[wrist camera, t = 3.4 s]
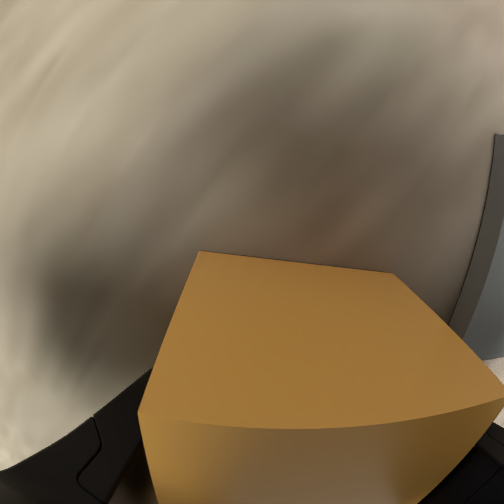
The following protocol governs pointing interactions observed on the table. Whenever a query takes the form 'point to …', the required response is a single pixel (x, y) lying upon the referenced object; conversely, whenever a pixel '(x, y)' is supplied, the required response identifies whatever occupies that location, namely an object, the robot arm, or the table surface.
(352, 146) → the table surface
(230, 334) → the orange foam cube
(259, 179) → the table surface
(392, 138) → the table surface
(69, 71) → the table surface
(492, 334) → the grey base with peg
